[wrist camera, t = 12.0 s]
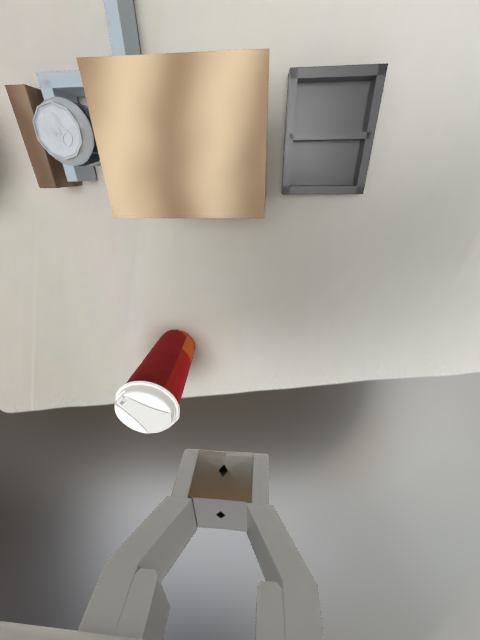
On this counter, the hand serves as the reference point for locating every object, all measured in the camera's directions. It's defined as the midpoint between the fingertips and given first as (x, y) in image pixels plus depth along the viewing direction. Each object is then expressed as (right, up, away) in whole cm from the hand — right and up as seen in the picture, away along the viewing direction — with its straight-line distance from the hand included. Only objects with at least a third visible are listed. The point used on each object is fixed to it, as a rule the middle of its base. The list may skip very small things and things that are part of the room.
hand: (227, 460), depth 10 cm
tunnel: (-2, +25, +22) cm, 33 cm away
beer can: (-13, +26, +23) cm, 37 cm away
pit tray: (+10, +25, +20) cm, 34 cm away
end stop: (-21, +26, +23) cm, 41 cm away
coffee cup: (-10, +1, +37) cm, 38 cm away
